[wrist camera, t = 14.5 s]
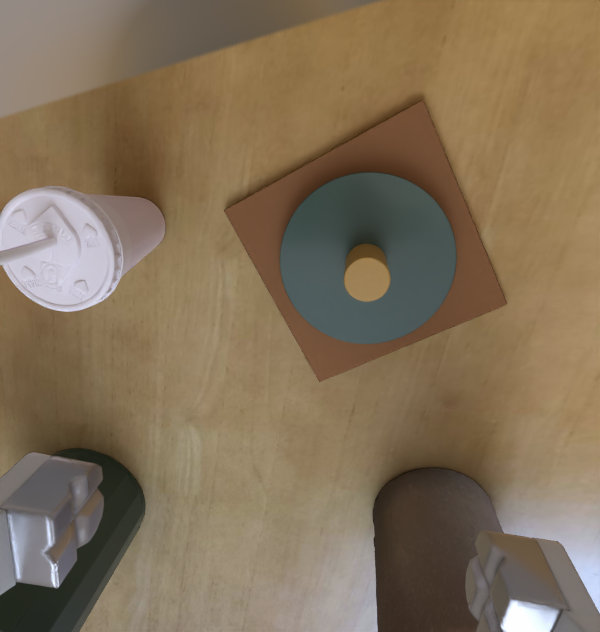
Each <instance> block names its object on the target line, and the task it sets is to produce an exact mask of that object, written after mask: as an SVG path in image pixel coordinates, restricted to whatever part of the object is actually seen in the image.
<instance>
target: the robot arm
mask: <svg viewBox="0 0 600 632" xmlns="http://www.w3.org/2000/svg"><path fill="white" fill-rule="evenodd" d="M102 480H103V476H102V467H101V466H99V465H98V464H94V463H89V462H84V461H79V460H74V459H69V458H64V457H59V456H51V455H46V454H41V453H36V452H32V453H29V454H26V455H25V456H24V457H23V458H22V459H21V460H20V461H18V462H17V463H16V464H15V465H14V466H13V467H12V468H11V469H10V470H9V471H8V472H7V473H6V474H4V475H3V476H2V477H1V478H0V595H1V594H3V593H4V592H6V591H7V590H9V589H10V588H11V587H13V586H14V585H16V582H20V583H27V584H33V585H40V586H46V587H53V588H59V586H60V585H61V583H62V582H63V580H64V579H65V577H66V576H67V574H68V573H69V571H70V570H71V568H72V567H73V565H74V564H75V562H76V561H77V549H78V548H79V547H81V546H83V545H85V544H86V543H88V542H89V541H90V540H91V538H92V537H93V535H94V534H95V532H96V530H97V528H98V525H99V523H100V520H101V518H102V514H103V508H104V496H103V495H102V493H101V492H100V491H99V489H98V488H97V487H98V485H99V484H100V483H101V481H102ZM475 545H476V549H477V552H478V555H477V556H475V557H474V558H472V559H471V560H470V561H469V564H468V568H467V571H466V582H465V589H466V598H467V603H468V607H469V611H470V612H471V613H472V614H473V616H474V617H475V618H476V619H477V620H478V621H479V623H478V626H477V629H476V632H600V613H599V612H598V610H597V608H596V606H595V604H594V602H593V600H592V599H591V597H590V595H589V593H588V591H587V589H586V588H585V586H584V584H583V582H582V580H581V578H580V576H579V575H578V573H577V571H576V569H575V567H574V565H573V564H572V562H571V560H570V558H569V556H568V554H567V552H566V551H565V549H564V547H563V546H562V545H561V544H560V543H559V542H558V541H551V540H545V539H538V538H529V537H524V536H517V535H511V534H505V533H499V532H493V531H487V530H482V531H481V532H480V533H479V534H478V537H477V540H476V543H475Z"/></svg>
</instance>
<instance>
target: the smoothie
mask: <svg viewBox="0 0 600 632" xmlns="http://www.w3.org/2000/svg"><path fill="white" fill-rule="evenodd" d="M165 228H166V227H165V220H164V217H163V215H162V213H161V211H160V210H159V208H158V207H157V206H156V205H155V204H154V203H152V202H151V201H149V200H147V199H145V198H141V197H128V196H112V195H97V194H84V193H81V192H78V191H76V190H73V189H70V188H67V187H61V186H45V187H41V188H36V189H31V190H27V191H24V192H22V193H20V194H18V195H17V196H15V197H14V198H13V199H11V200H10V201H9V202H8V203H7V205H6V206H5V207H4V209H3V211H2V212H1V215H0V265H3V268H4V270H5V271H6V273H7V275H8V276H9V278H10V279H11V281H12V282H13V283H14V285H15V286H16V287H17V288H18V289H19V290H20V291H21V292H22V293H23V294H25V295H26V296H27V297H28V298H30V299H31V300H33V301H34V302H36V303H38V304H40V305H42V306H44V307H47V308H49V309H53V310H57V311H65V312H70V311H78V310H82V309H85V308H88V307H90V306H93V305H95V304H97V303H99V302H101V301H103V300H105V299H106V298H107V297H108V296H109V295H110V294H111V293H112V292H113V291H114V290H115V288H116V286H117V284H118V282H119V280H120V278H121V277H122V276H123V275H124V274H125V273H127V272H128V271H129V270H130V269H131V268H132V267H134V266H135V265H136V264H137V263H138V262H139V261H140V260H142V259H143V258H144V257H145V256H146V255H147V254H148V253H150V252H151V251H152V250H153V249H154V248H155V247H156V246H158V245H159V244H160V242H161V241H162V240H163V238H164V235H165Z"/></svg>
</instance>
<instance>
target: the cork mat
mask: <svg viewBox="0 0 600 632" xmlns="http://www.w3.org/2000/svg"><path fill="white" fill-rule="evenodd" d="M358 172H382V173H388V174H392V175H396V176H399V177H402V178H404V179H406V180H409V181H411V182H412V183H414V184H416V185H417V186H419V187H421V188H422V189H423V190H424V191H426V192H427V193H428V194H429V195H430V196H431V197H432V198H433V199H434V200H435V201H436V202H437V203H438V204H439V206H440V207H441V208H442V210H443V211H444V213H445V214H446V216H447V218H448V220H449V222H450V225H451V227H452V230H453V233H454V237H455V243H456V252H457V261H456V270H455V275H454V279H453V282H452V285H451V288H450V290H449V292H448V294H447V296H446V298H445V300H444V302H443V303H442V305H441V306H440V307H439V309H438V310H437V311H436V312H435V313H434V315H433V316H432V317H431V318H430V319H429V320H428V321H426V322H425V323H424V324H423V325H422V326H420V327H419V328H417V329H416V330H414V331H413V332H411V333H409V334H407V335H405V336H403V337H400V338H397V339H395V340H392V341H387V342H383V343H375V344H357V343H350V342H345V341H341V340H338V339H335V338H333V337H330V336H328V335H326V334H324V333H322V332H321V331H319V330H317V329H316V328H315V327H313V326H312V325H310V324H309V323H308V322H307V321H306V320H305V319H304V318H303V317H302V316H301V315H300V314H299V312H298V311H297V310H296V309H295V307H294V306H293V304H292V302H291V301H290V299H289V297H288V295H287V293H286V291H285V288H284V285H283V281H282V277H281V272H280V247H281V243H282V238H283V235H284V232H285V229H286V226H287V224H288V222H289V220H290V218H291V217H292V215H293V213H294V212H295V210H296V209H297V208H298V206H299V205H300V204H301V203H302V202H303V201H304V200H305V199H306V197H307V196H309V195H310V194H311V193H312V192H313V191H315V190H316V189H317V188H319V187H320V186H322V185H324V184H325V183H327V182H329V181H331V180H333V179H335V178H338V177H341V176H344V175H347V174H351V173H358ZM224 211H225V213H226V215H227V217H228V219H229V220H230V222H231V224H232V226H233V228H234V229H235V231H236V233H237V235H238V237H239V238H240V240H241V242H242V244H243V246H244V247H245V249H246V251H247V253H248V255H249V256H250V258H251V260H252V262H253V264H254V265H255V267H256V269H257V271H258V273H259V274H260V276H261V278H262V280H263V282H264V283H265V285H266V287H267V289H268V291H269V292H270V294H271V296H272V298H273V300H274V301H275V303H276V305H277V307H278V309H279V310H280V312H281V314H282V316H283V318H284V319H285V321H286V323H287V325H288V327H289V328H290V330H291V332H292V334H293V335H294V337H295V339H296V341H297V343H298V344H299V346H300V348H301V350H302V352H303V353H304V355H305V357H306V359H307V361H308V362H309V364H310V366H311V368H312V370H313V371H314V373H315V375H316V377H317V379H318V380H319V382H320V381H323V380H325V379H328V378H330V377H332V376H335V375H337V374H340V373H342V372H345V371H347V370H349V369H352V368H354V367H357V366H359V365H361V364H364V363H366V362H369V361H371V360H374V359H376V358H378V357H381V356H383V355H386V354H388V353H390V352H393V351H395V350H398V349H400V348H403V347H405V346H407V345H410V344H412V343H415V342H417V341H420V340H422V339H424V338H427V337H429V336H432V335H434V334H436V333H439V332H441V331H444V330H446V329H449V328H451V327H453V326H456V325H458V324H461V323H463V322H466V321H468V320H470V319H473V318H475V317H478V316H480V315H482V314H485V313H487V312H490V311H492V310H495V309H497V308H499V307H502V306H504V305H507V302H506V300H505V297H504V295H503V293H502V290H501V288H500V285H499V283H498V280H497V278H496V276H495V273H494V271H493V268H492V266H491V263H490V261H489V259H488V256H487V254H486V251H485V249H484V246H483V244H482V242H481V239H480V237H479V234H478V232H477V229H476V227H475V225H474V222H473V220H472V217H471V215H470V212H469V210H468V208H467V205H466V203H465V200H464V198H463V195H462V193H461V191H460V188H459V186H458V183H457V181H456V178H455V176H454V174H453V171H452V169H451V166H450V164H449V161H448V159H447V157H446V154H445V152H444V149H443V147H442V144H441V142H440V140H439V137H438V135H437V132H436V130H435V127H434V125H433V123H432V120H431V118H430V115H429V113H428V110H427V108H426V106H425V103H424V101H423V100H421V101H420V102H418V103H416V104H414V105H412V106H411V107H409V108H407V109H405V110H403V111H402V112H400V113H398V114H396V115H394V116H393V117H391V118H389V119H387V120H385V121H384V122H382V123H380V124H378V125H376V126H375V127H373V128H371V129H369V130H367V131H366V132H364V133H362V134H360V135H358V136H357V137H355V138H353V139H351V140H349V141H348V142H346V143H344V144H342V145H340V146H339V147H337V148H335V149H333V150H331V151H330V152H328V153H326V154H324V155H322V156H321V157H319V158H317V159H315V160H313V161H312V162H310V163H308V164H306V165H304V166H303V167H301V168H299V169H297V170H295V171H294V172H292V173H290V174H288V175H286V176H285V177H283V178H281V179H279V180H277V181H276V182H274V183H272V184H270V185H269V186H267V187H265V188H263V189H261V190H260V191H258V192H256V193H254V194H252V195H251V196H249V197H247V198H245V199H243V200H242V201H240V202H238V203H236V204H234V205H233V206H231V207H229V208H227V209H225V210H224Z"/></svg>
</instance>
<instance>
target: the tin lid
mask: <svg viewBox="0 0 600 632" xmlns="http://www.w3.org/2000/svg"><path fill="white" fill-rule="evenodd" d="M456 261H457V252H456V243H455V237H454V233H453V230H452V227H451V225H450V222H449V220H448V218H447V216H446V214H445V213H444V211H443V210H442V208H441V207H440V206H439V204H438V203H437V202H436V201H435V200H434V199H433V198H432V197H431V196H430V195H429V194H428V193H427V192H426V191H424V190H423V189H422V188H421V187H419V186H417V185H416V184H414V183H412V182H411V181H409V180H406V179H404V178H402V177H399V176H396V175H392V174H388V173H382V172H358V173H351V174H347V175H344V176H341V177H338V178H335V179H333V180H331V181H329V182H327V183H325V184H324V185H322V186H320V187H319V188H317V189H316V190H315V191H313V192H312V193H311V194H310V195H309V196H307V197H306V199H305V200H304V201H303V202H302V203H301V204H300V205H299V206H298V208H297V209H296V210H295V212H294V213H293V215H292V217H291V218H290V220H289V222H288V224H287V226H286V229H285V232H284V235H283V238H282V243H281V247H280V272H281V277H282V281H283V285H284V288H285V291H286V293H287V295H288V297H289V299H290V301H291V302H292V304H293V306H294V307H295V309H296V310H297V311H298V312H299V314H300V315H301V316H302V317H303V318H304V319H305V320H306V321H307V322H308V323H309V324H310V325H312V326H313V327H315V328H316V329H317V330H319V331H321V332H322V333H324V334H326V335H328V336H330V337H333V338H335V339H338V340H341V341H345V342H350V343H357V344H375V343H383V342H387V341H392V340H395V339H397V338H400V337H403V336H405V335H407V334H409V333H411V332H413V331H414V330H416V329H417V328H419V327H420V326H422V325H423V324H424V323H425V322H426V321H428V320H429V319H430V318H431V317H432V316H433V315H434V313H435V312H436V311H437V310H438V309H439V307H440V306H441V305H442V303H443V302H444V300H445V298H446V296H447V294H448V292H449V290H450V288H451V285H452V282H453V279H454V275H455V270H456Z"/></svg>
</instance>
